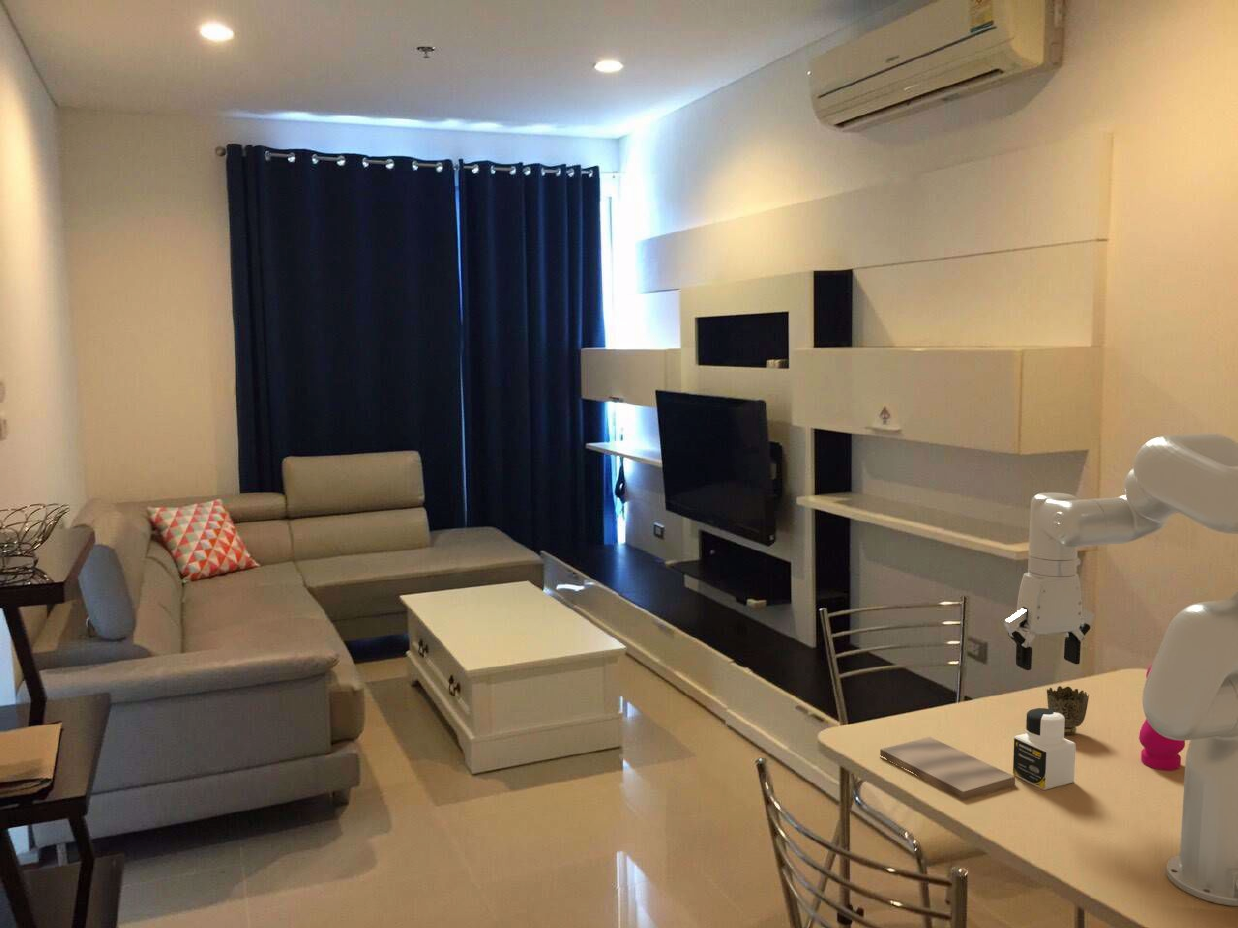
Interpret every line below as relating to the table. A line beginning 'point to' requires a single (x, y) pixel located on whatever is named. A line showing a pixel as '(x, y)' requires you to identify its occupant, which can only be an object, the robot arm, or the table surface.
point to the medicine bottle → (1044, 751)
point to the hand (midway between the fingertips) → (1047, 664)
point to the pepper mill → (1159, 748)
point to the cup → (1069, 706)
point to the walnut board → (948, 768)
